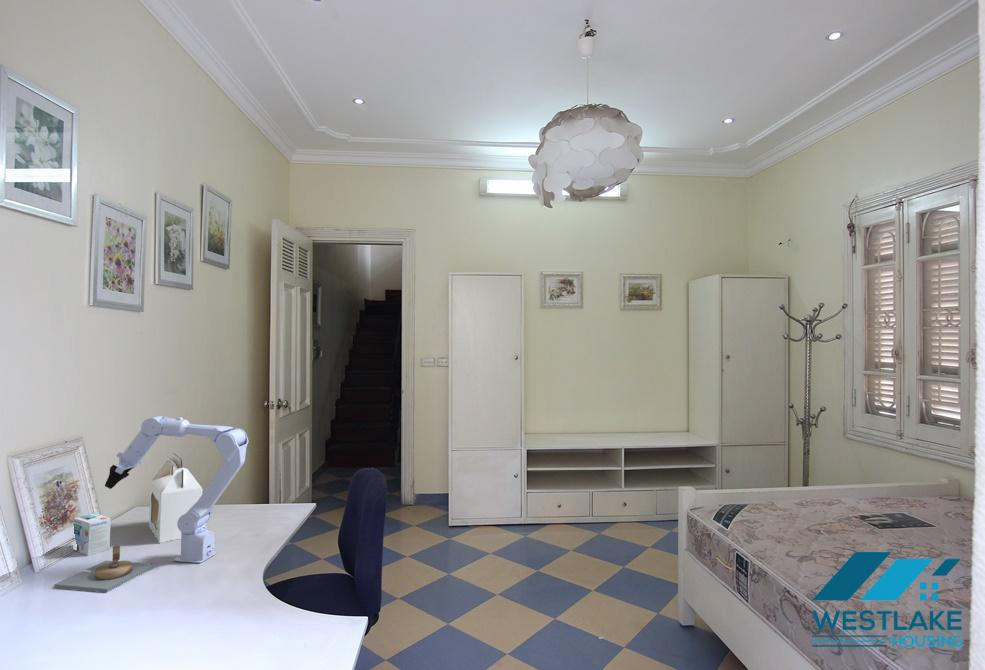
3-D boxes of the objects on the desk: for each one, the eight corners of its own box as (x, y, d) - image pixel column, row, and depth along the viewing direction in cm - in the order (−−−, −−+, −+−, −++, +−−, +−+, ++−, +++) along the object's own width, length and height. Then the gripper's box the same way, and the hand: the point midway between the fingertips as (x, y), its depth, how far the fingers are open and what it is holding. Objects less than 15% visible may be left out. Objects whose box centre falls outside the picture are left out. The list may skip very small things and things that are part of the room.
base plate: (154, 567, 163) (154, 563, 164) (106, 592, 147) (107, 588, 147) (106, 563, 166) (106, 559, 166) (54, 587, 149) (54, 583, 149)
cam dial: (131, 575, 155) (131, 556, 155) (93, 582, 150) (94, 562, 150) (133, 560, 166) (134, 542, 166) (98, 566, 161) (98, 548, 161)
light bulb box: (71, 550, 176) (72, 517, 177) (94, 543, 182) (95, 512, 183) (88, 556, 171) (89, 523, 172) (110, 549, 177) (111, 517, 178)
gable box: (148, 527, 200) (151, 453, 200) (188, 519, 208) (190, 449, 209) (159, 544, 183) (161, 463, 184) (201, 535, 192) (203, 458, 192)
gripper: (135, 434, 177) (110, 467, 177) (117, 450, 164) (90, 485, 163) (155, 445, 180) (130, 477, 179) (139, 461, 166) (113, 496, 165)
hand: (113, 482), depth 171 cm, fingers open, 7 cm apart
